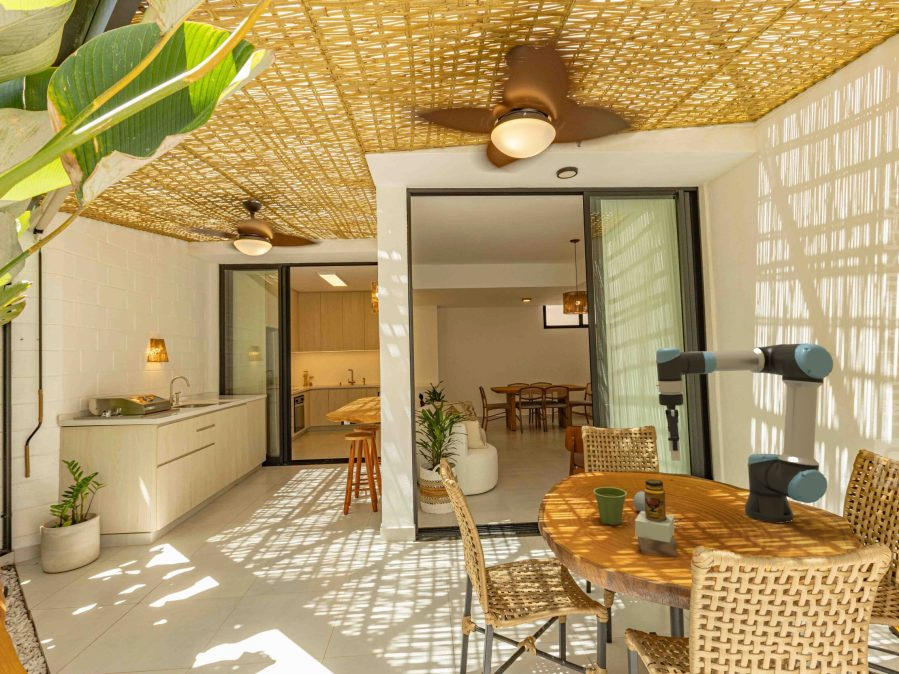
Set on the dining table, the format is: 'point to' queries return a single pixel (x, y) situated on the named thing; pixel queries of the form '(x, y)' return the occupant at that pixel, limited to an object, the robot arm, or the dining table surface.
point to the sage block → (654, 529)
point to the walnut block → (658, 547)
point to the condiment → (654, 502)
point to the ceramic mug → (639, 501)
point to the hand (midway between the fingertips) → (674, 455)
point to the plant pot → (610, 504)
